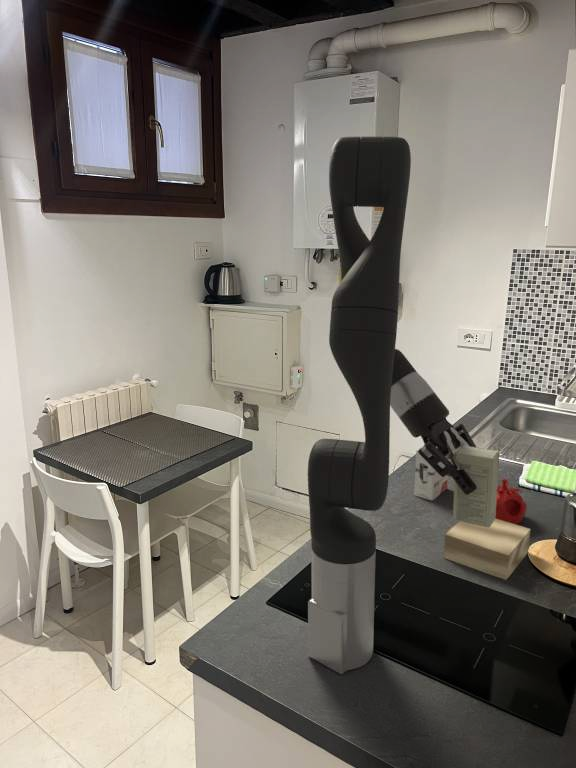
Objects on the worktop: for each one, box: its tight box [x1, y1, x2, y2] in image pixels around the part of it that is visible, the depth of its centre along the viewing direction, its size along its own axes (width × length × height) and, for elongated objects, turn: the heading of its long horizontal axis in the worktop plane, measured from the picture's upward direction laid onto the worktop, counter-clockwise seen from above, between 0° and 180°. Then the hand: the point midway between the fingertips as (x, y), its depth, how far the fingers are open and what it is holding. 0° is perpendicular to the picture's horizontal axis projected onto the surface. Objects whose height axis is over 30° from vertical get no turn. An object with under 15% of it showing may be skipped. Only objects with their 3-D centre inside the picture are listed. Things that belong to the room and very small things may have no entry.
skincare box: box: [452, 445, 500, 528], centre depth 97 cm, size 6×4×12 cm
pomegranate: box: [495, 478, 528, 525], centre depth 125 cm, size 10×10×9 cm
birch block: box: [443, 519, 531, 581], centre depth 112 cm, size 12×12×5 cm
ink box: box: [414, 446, 449, 501], centre depth 138 cm, size 9×5×12 cm, turn 141°
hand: (478, 486), depth 96 cm, fingers closed on skincare box, 4 cm apart
